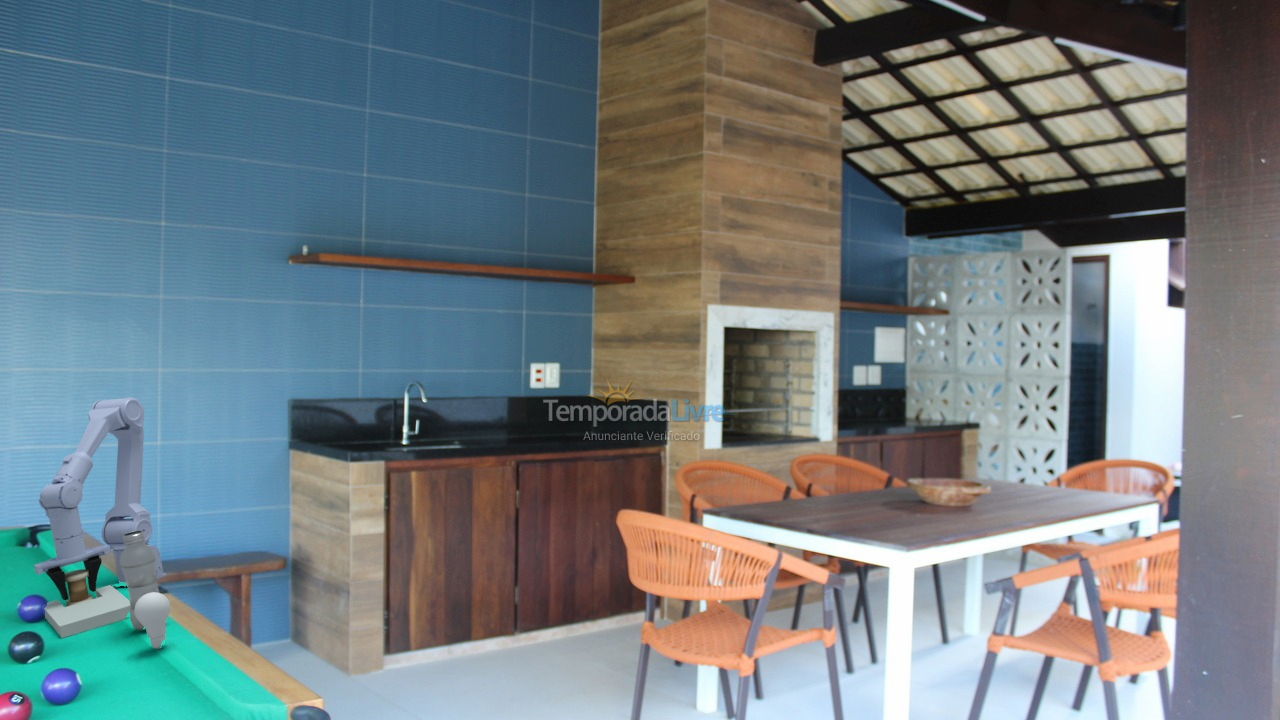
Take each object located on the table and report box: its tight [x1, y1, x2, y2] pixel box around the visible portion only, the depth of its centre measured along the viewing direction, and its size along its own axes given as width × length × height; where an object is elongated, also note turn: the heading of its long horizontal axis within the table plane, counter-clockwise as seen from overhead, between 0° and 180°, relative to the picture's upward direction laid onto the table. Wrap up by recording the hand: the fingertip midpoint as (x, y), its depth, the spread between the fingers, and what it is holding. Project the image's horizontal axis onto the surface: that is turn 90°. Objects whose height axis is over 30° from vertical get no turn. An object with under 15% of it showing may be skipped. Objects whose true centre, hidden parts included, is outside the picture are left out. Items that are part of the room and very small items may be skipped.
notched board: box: [44, 584, 131, 639], centre depth 215 cm, size 22×14×2 cm, turn 40°
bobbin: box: [65, 568, 94, 607], centre depth 220 cm, size 5×5×7 cm
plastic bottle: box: [120, 531, 160, 631], centre depth 201 cm, size 6×7×20 cm
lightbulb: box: [134, 592, 171, 650], centre depth 189 cm, size 6×6×11 cm
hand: (79, 595), depth 220 cm, fingers closed on bobbin, 5 cm apart
